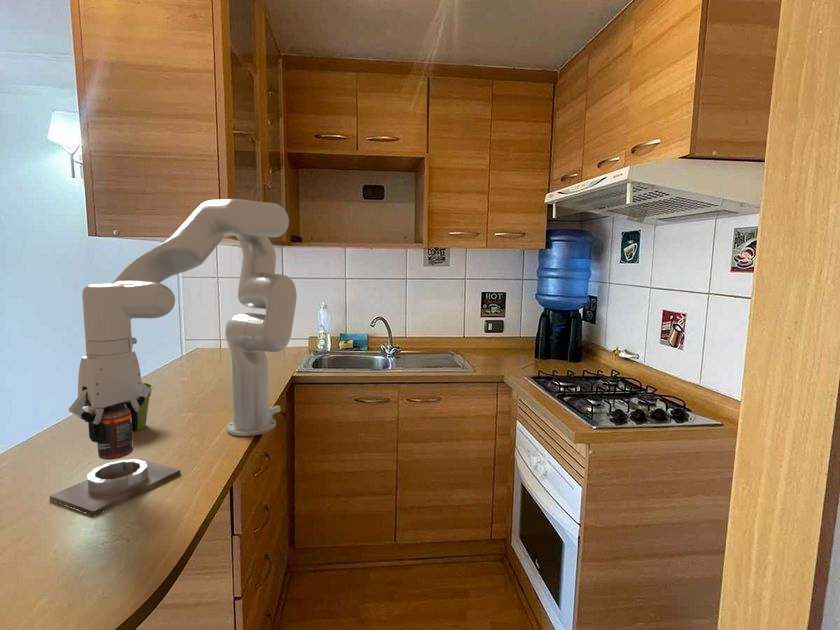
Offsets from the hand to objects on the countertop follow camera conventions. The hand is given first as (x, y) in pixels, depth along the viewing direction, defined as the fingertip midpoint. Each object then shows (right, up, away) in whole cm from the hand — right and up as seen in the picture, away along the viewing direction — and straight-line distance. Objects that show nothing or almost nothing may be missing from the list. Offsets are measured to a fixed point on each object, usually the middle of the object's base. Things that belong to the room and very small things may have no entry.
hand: (114, 435), depth 92 cm
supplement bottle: (0, -4, +1) cm, 4 cm away
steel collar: (0, -11, +2) cm, 11 cm away
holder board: (0, -11, +2) cm, 11 cm away
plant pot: (-17, -7, +33) cm, 37 cm away
